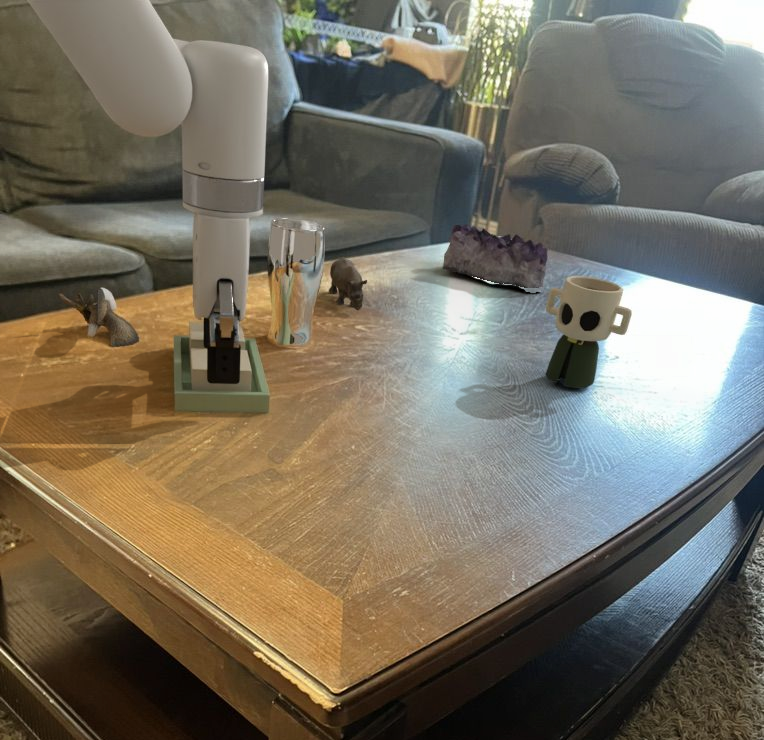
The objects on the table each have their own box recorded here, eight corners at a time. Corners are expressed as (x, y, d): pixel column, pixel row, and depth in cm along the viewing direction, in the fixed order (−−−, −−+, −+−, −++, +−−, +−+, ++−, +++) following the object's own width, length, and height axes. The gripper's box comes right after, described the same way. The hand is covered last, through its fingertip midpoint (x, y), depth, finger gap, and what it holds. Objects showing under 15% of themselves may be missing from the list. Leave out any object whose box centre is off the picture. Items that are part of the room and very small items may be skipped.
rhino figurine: (344, 318, 113) (348, 277, 110) (324, 290, 124) (327, 252, 121) (371, 319, 114) (376, 278, 111) (349, 291, 125) (352, 253, 122)
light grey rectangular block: (192, 405, 81) (191, 368, 79) (190, 382, 86) (190, 347, 84) (250, 406, 82) (251, 370, 80) (245, 384, 87) (246, 350, 85)
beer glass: (294, 330, 106) (302, 215, 98) (328, 347, 102) (338, 228, 94) (253, 338, 101) (257, 218, 94) (286, 355, 97) (293, 232, 90)
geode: (552, 286, 145) (565, 233, 139) (531, 307, 137) (544, 251, 131) (454, 258, 152) (462, 205, 145) (428, 276, 143) (435, 221, 137)
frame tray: (269, 416, 82) (270, 395, 81) (174, 414, 79) (174, 392, 78) (254, 356, 96) (255, 338, 95) (173, 354, 93) (173, 334, 92)
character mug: (519, 376, 101) (542, 276, 95) (541, 364, 106) (565, 268, 100) (597, 403, 96) (627, 300, 90) (617, 389, 102) (646, 290, 95)
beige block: (190, 373, 88) (190, 339, 86) (189, 353, 93) (189, 321, 91) (244, 374, 90) (245, 341, 87) (240, 355, 94) (241, 323, 92)
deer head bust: (46, 325, 93) (86, 334, 88) (67, 269, 93) (108, 275, 88) (100, 350, 99) (140, 359, 94) (119, 298, 99) (161, 304, 94)
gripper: (181, 174, 80) (182, 335, 88) (184, 209, 65) (185, 397, 74) (255, 181, 82) (249, 338, 90) (273, 216, 67) (264, 398, 76)
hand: (220, 364), depth 82 cm, fingers open, 9 cm apart
